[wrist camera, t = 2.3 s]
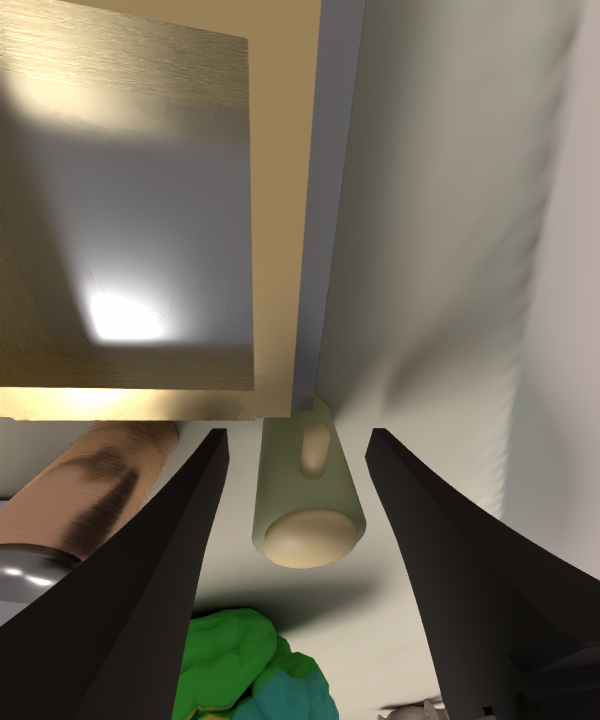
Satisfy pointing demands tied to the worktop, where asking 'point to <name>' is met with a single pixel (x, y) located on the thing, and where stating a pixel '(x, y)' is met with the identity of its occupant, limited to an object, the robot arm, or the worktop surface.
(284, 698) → the brain model
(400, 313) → the worktop surface
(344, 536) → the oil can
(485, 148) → the worktop surface
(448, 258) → the worktop surface
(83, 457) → the copper can
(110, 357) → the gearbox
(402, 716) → the animal model
